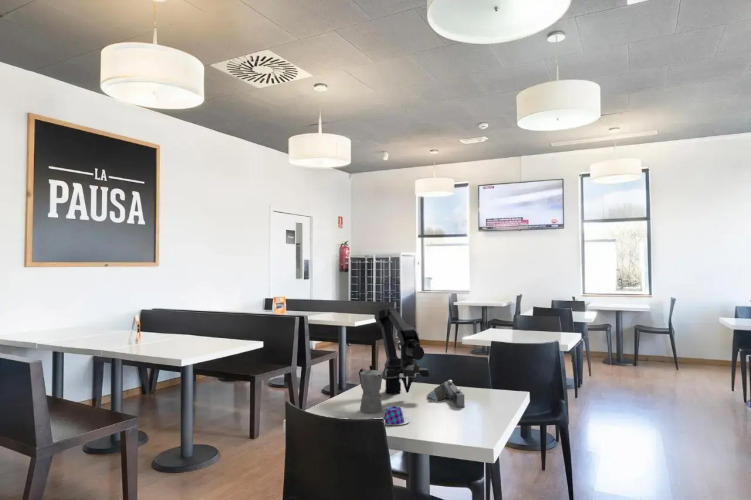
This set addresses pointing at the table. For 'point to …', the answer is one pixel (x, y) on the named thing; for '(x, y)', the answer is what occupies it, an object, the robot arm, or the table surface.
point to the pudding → (394, 416)
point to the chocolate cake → (439, 393)
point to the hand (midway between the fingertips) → (407, 392)
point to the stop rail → (455, 394)
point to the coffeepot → (371, 390)
